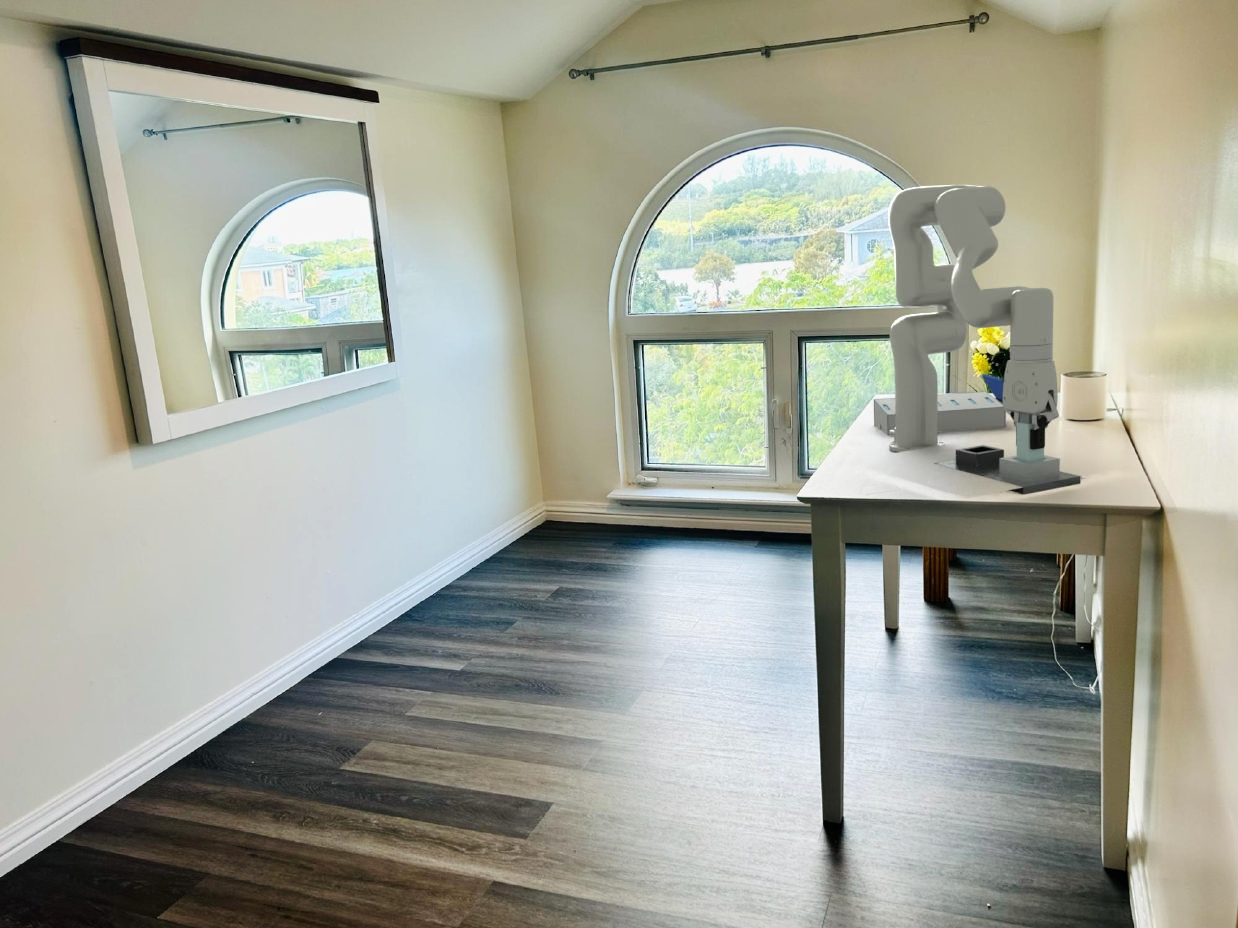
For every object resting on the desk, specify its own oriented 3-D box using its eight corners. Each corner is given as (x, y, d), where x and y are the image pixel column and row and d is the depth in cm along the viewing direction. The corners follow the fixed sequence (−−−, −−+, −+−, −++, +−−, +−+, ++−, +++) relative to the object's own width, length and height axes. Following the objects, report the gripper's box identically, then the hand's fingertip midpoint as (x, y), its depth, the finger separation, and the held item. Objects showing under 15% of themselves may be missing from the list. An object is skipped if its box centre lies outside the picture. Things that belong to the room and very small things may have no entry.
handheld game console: (1050, 408, 266) (1051, 375, 264) (1002, 412, 266) (1002, 379, 264) (1026, 400, 281) (1026, 369, 279) (980, 404, 281) (980, 372, 279)
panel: (933, 470, 206) (933, 447, 205) (986, 461, 210) (986, 438, 209) (1023, 494, 182) (1023, 468, 181) (1080, 483, 186) (1081, 458, 185)
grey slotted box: (887, 436, 246) (887, 407, 244) (874, 426, 260) (873, 399, 259) (1005, 428, 245) (1006, 399, 243) (985, 419, 259) (986, 391, 257)
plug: (1016, 462, 189) (1016, 412, 187) (1032, 459, 190) (1033, 409, 188) (1027, 464, 186) (1028, 414, 184) (1044, 461, 188) (1044, 411, 186)
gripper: (985, 353, 190) (985, 444, 194) (1048, 358, 175) (1047, 456, 179) (1015, 349, 193) (1015, 439, 197) (1080, 353, 178) (1078, 450, 181)
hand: (1030, 446), depth 188 cm, fingers closed on plug, 2 cm apart
